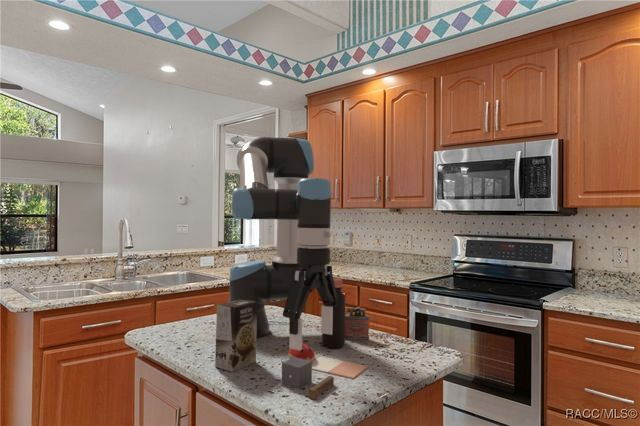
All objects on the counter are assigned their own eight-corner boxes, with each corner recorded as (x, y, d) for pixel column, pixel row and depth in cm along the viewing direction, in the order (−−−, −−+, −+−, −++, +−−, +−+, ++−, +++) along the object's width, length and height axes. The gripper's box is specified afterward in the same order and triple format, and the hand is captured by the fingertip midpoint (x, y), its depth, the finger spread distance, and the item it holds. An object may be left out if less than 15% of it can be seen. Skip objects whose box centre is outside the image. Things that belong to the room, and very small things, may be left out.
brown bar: (308, 397, 89) (309, 389, 89) (329, 383, 97) (329, 375, 97) (313, 399, 88) (313, 390, 88) (333, 384, 96) (333, 376, 96)
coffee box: (232, 372, 102) (234, 307, 102) (214, 367, 106) (215, 303, 106) (257, 362, 110) (258, 301, 110) (239, 357, 114) (240, 298, 114)
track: (281, 362, 110) (281, 361, 110) (299, 352, 118) (299, 351, 118) (353, 378, 100) (353, 377, 100) (368, 367, 107) (368, 366, 107)
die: (298, 390, 93) (281, 384, 96) (311, 382, 97) (294, 377, 100) (299, 367, 93) (281, 363, 96) (311, 361, 97) (294, 356, 100)
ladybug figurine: (305, 351, 118) (305, 339, 118) (321, 362, 109) (321, 349, 109) (283, 355, 115) (283, 342, 115) (298, 366, 106) (298, 352, 106)
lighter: (368, 338, 133) (369, 307, 133) (369, 341, 130) (369, 309, 130) (343, 337, 134) (344, 306, 134) (343, 340, 131) (343, 308, 131)
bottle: (322, 342, 128) (323, 277, 128) (344, 342, 128) (345, 277, 128) (321, 349, 122) (322, 280, 122) (344, 349, 121) (346, 281, 122)
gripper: (297, 251, 81) (295, 359, 81) (352, 244, 103) (350, 330, 103) (266, 249, 85) (265, 353, 85) (325, 243, 107) (324, 326, 106)
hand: (312, 340), depth 94 cm, fingers open, 13 cm apart
